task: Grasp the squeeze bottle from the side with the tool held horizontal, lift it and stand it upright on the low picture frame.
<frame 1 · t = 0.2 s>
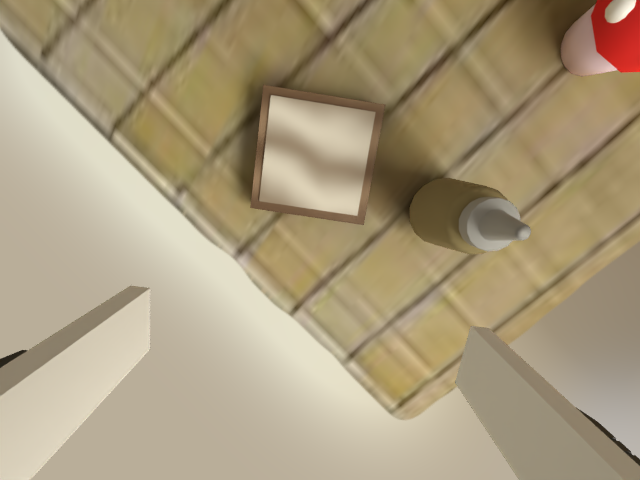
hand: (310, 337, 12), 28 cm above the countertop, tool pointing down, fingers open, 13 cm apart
squeeze bottle: (430, 209, 39), on the countertop
mushroom: (585, 45, 36), on the countertop
picture frame: (316, 159, 38), on the countertop
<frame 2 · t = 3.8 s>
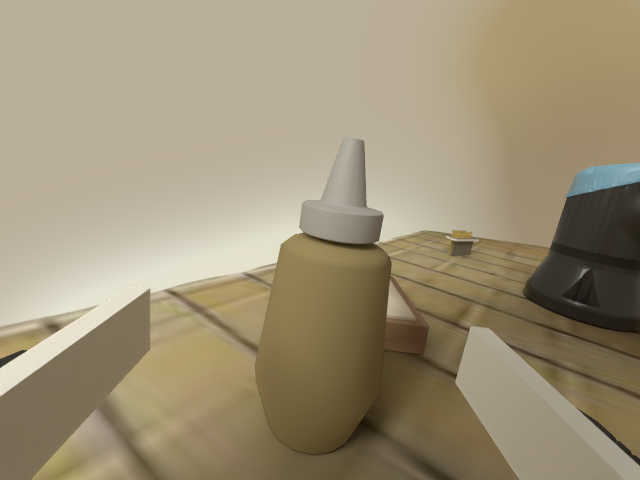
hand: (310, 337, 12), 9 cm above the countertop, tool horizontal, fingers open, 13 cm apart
squeeze bottle: (310, 418, 20), on the countertop
picture frame: (345, 312, 36), on the countertop
platform: (456, 256, 78), on the countertop
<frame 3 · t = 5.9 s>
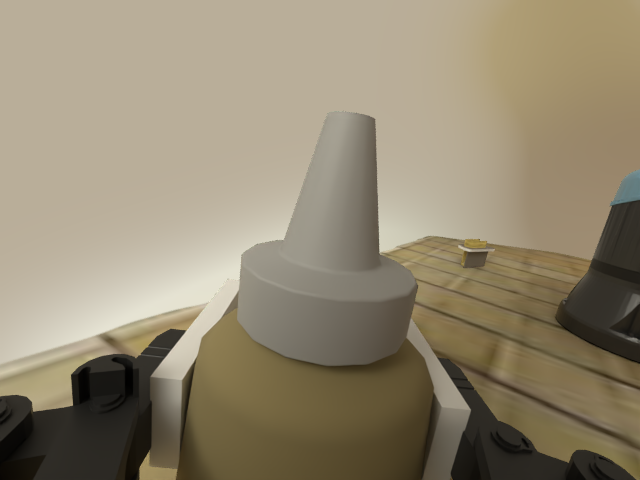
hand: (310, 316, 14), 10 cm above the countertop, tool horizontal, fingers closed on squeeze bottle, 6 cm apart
platform: (469, 268, 69), on the countertop
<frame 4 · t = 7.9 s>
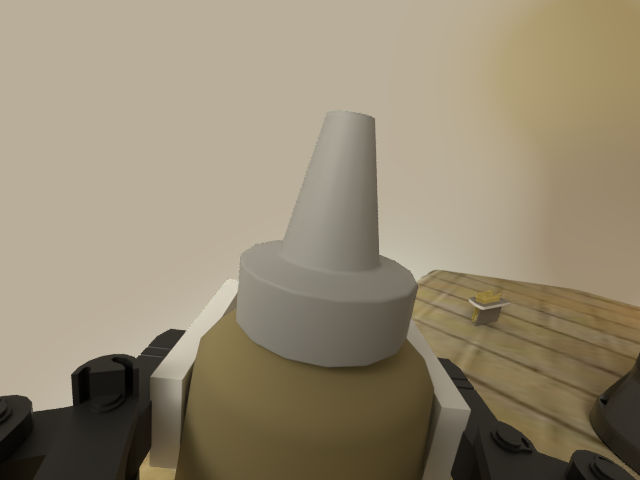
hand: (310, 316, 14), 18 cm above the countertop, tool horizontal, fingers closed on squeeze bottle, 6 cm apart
platform: (481, 323, 61), on the countertop
when the fingers open (14 cm above the countertop, at t = 9.7 s): squeeze bottle drops 1 cm, resting on picture frame.
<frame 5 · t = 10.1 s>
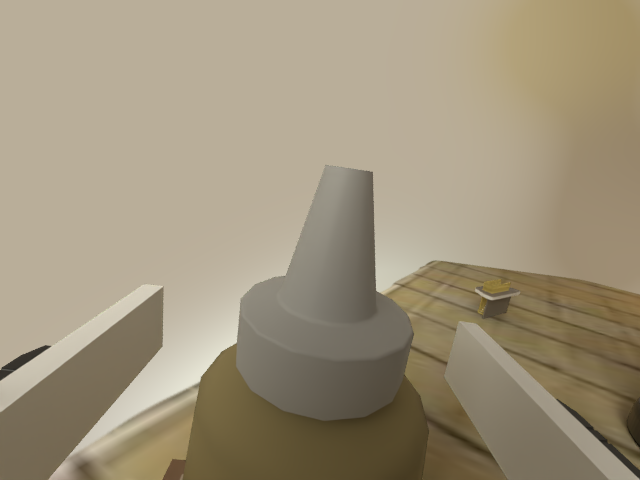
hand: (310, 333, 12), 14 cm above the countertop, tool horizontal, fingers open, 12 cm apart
platform: (488, 316, 55), on the countertop
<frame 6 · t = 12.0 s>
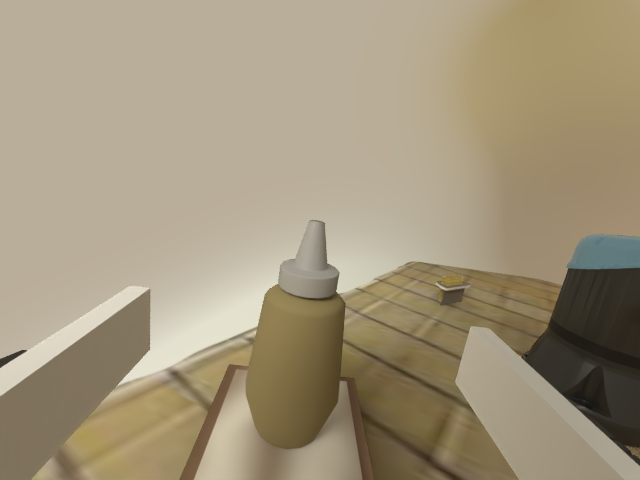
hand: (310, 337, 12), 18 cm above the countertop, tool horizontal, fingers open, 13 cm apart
squeeze bottle: (287, 422, 26), point 3 cm above the countertop, touching picture frame
picture frame: (283, 450, 27), on the countertop
platform: (447, 304, 70), on the countertop
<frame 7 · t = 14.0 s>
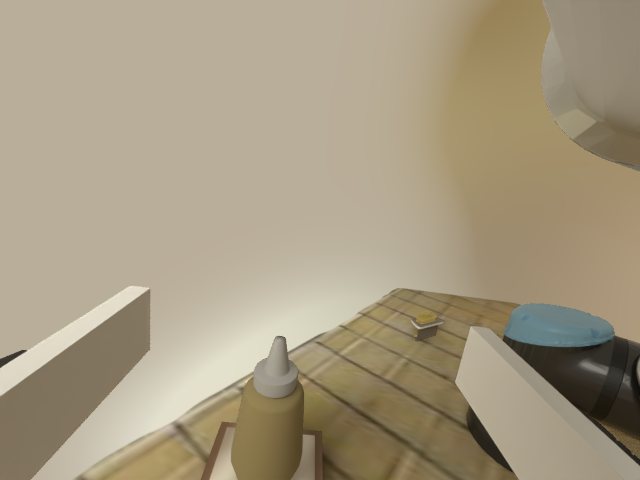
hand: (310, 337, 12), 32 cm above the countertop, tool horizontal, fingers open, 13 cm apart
squeeze bottle: (264, 476, 35), point 3 cm above the countertop, touching picture frame
platform: (422, 338, 79), on the countertop
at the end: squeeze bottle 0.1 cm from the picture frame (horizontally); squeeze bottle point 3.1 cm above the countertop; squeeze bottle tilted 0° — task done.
